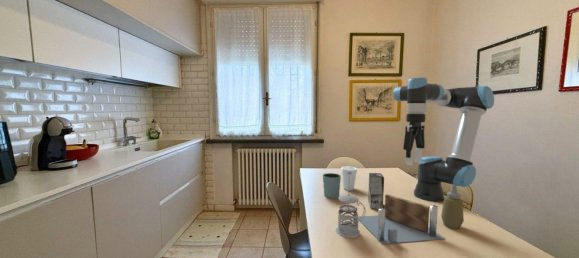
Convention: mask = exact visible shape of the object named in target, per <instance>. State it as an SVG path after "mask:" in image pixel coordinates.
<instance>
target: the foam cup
mask: <svg viewBox="0 0 579 258" xmlns="http://www.w3.org/2000/svg"><path fill="white" fill-rule="evenodd" d="M340 169H341V179H342V187H343V190H345V191H353V190H354V189H355V185H356V183H355V182H356V178H357V173H358V169H357V167H355V166H348V165H346V166H341V168H340ZM347 171H351V173H352V174H347Z"/></svg>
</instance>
